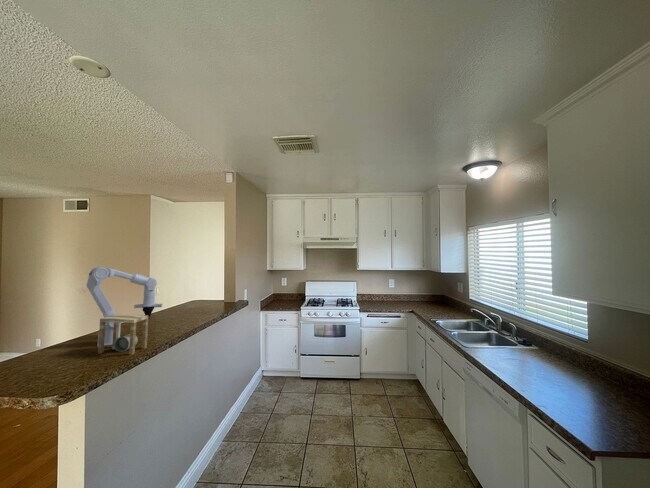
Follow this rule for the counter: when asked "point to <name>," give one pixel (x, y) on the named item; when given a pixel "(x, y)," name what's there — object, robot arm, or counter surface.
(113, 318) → the counter shelf
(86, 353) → the counter surface
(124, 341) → the ceramic mug
